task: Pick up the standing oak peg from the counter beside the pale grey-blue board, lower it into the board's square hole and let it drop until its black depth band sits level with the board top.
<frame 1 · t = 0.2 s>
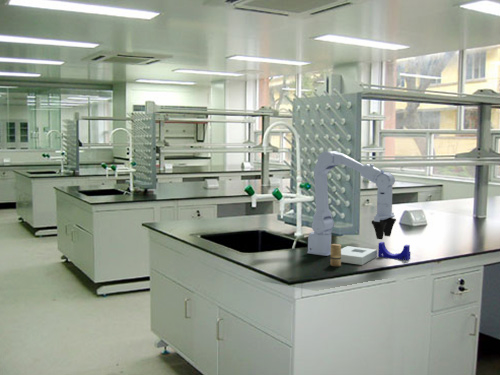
hand: (383, 237, 199), 10 cm above the countertop, tool pointing down, fingers open, 7 cm apart
hole board: (354, 258, 206), on the countertop
oak peg: (335, 265, 195), on the countertop
blue cradle bracket: (394, 258, 208), on the countertop
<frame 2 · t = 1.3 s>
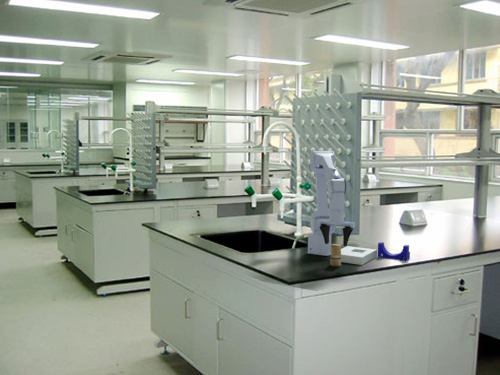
hand: (336, 244, 194), 8 cm above the countertop, tool pointing down, fingers open, 7 cm apart
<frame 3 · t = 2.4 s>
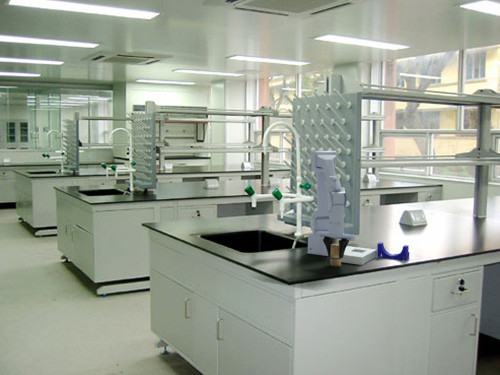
hand: (335, 256, 195), 3 cm above the countertop, tool pointing down, fingers closed on oak peg, 4 cm apart
oak peg: (335, 265, 195), on the countertop, touching gripper
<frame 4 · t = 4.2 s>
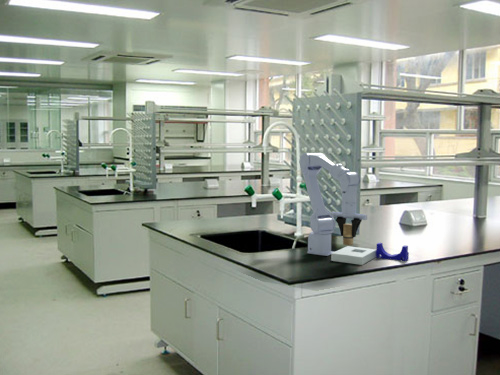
hand: (348, 236, 200), 10 cm above the countertop, tool pointing down, fingers closed on oak peg, 4 cm apart
oak peg: (348, 244, 201), point 7 cm above the countertop, touching gripper
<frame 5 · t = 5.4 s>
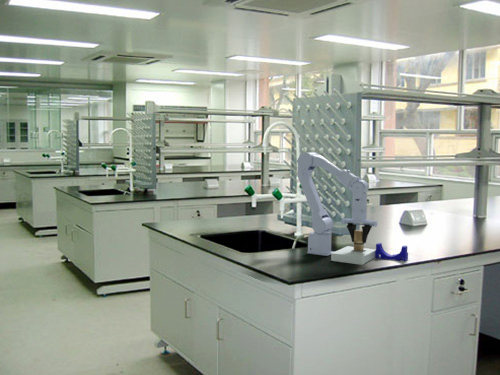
hand: (358, 242, 206), 7 cm above the countertop, tool pointing down, fingers closed on oak peg, 4 cm apart
oak peg: (358, 250, 207), point 3 cm above the countertop, touching gripper
when the fingers open (5 cm above the countertop, at t = 6.2 s): oak peg drops 1 cm, resting in hole board.
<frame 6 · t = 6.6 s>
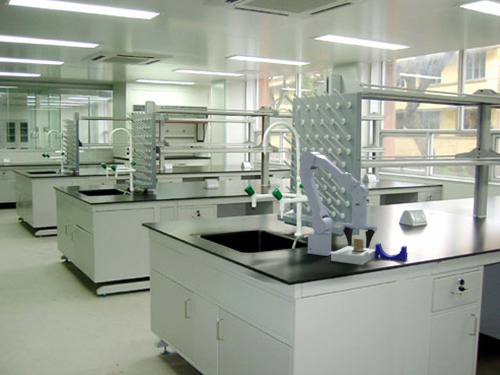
hand: (358, 246, 206), 5 cm above the countertop, tool pointing down, fingers open, 7 cm apart
oak peg: (358, 258, 207), resting in hole board
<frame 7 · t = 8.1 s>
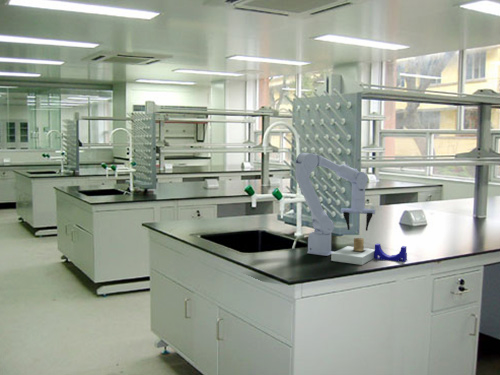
hand: (357, 229, 219), 9 cm above the countertop, tool pointing down, fingers open, 7 cm apart
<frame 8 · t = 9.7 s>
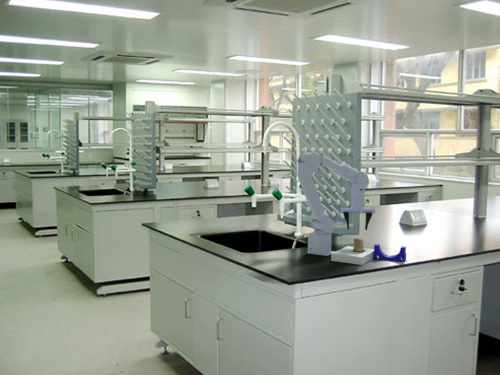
hand: (357, 229, 221), 9 cm above the countertop, tool pointing down, fingers open, 7 cm apart
at the end: oak peg 0.1 cm from the target spot on the hole board, point 0.0 cm above the hole board's base; oak peg tilted 0°; the gripper is holding nothing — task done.
